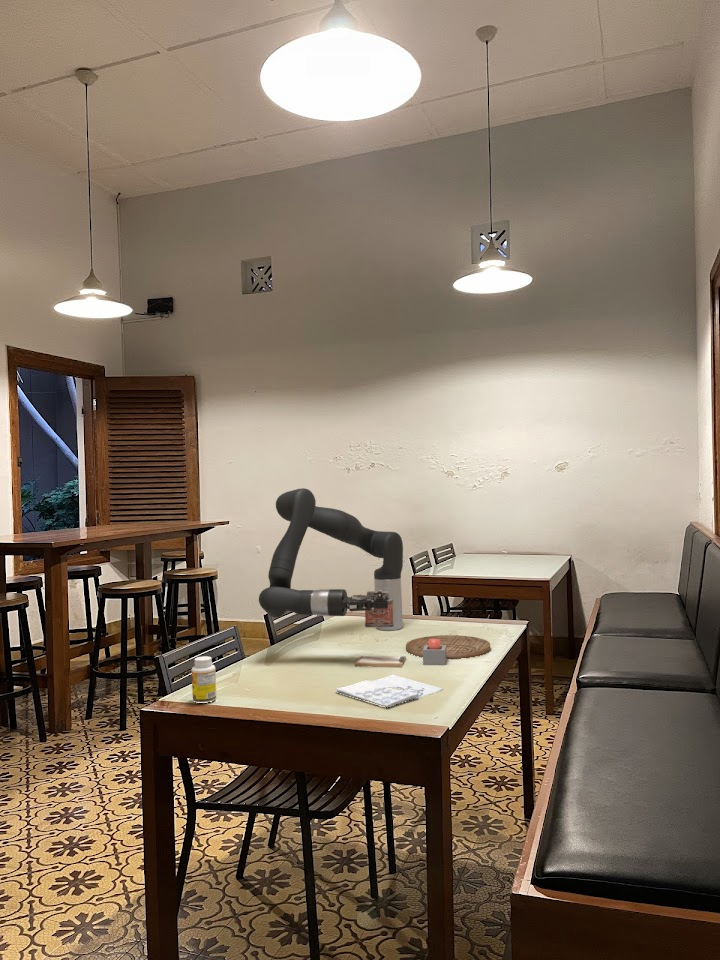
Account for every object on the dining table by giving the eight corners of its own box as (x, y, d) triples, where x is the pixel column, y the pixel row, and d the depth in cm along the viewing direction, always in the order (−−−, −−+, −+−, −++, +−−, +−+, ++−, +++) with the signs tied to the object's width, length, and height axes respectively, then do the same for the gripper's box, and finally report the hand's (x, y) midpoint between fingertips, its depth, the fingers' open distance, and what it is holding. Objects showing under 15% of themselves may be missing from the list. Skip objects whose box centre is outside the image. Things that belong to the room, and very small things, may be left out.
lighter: (393, 625, 206) (393, 589, 206) (393, 627, 202) (392, 591, 203) (365, 625, 207) (364, 589, 207) (364, 627, 203) (363, 591, 203)
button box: (425, 659, 206) (424, 645, 206) (446, 659, 205) (446, 645, 205) (423, 664, 200) (422, 650, 200) (445, 665, 199) (444, 650, 199)
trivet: (418, 639, 234) (418, 633, 234) (497, 643, 225) (496, 636, 225) (395, 658, 210) (395, 651, 210) (481, 662, 202) (481, 656, 202)
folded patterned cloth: (333, 695, 177) (333, 686, 177) (394, 678, 190) (394, 670, 190) (386, 712, 162) (385, 702, 162) (448, 693, 175) (448, 684, 175)
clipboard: (361, 658, 210) (361, 653, 210) (406, 659, 207) (405, 654, 207) (354, 666, 201) (354, 661, 201) (401, 667, 198) (401, 662, 198)
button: (429, 653, 205) (429, 638, 205) (441, 653, 204) (440, 638, 204) (428, 656, 201) (427, 641, 201) (440, 656, 201) (439, 641, 201)
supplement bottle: (195, 698, 176) (194, 655, 176) (218, 697, 176) (217, 654, 176) (190, 705, 171) (188, 661, 171) (213, 704, 170) (212, 660, 170)
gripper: (322, 593, 200) (384, 593, 197) (334, 585, 214) (392, 586, 211) (323, 620, 200) (385, 621, 197) (335, 611, 214) (393, 612, 211)
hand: (388, 603), depth 204 cm, fingers closed on lighter, 3 cm apart
